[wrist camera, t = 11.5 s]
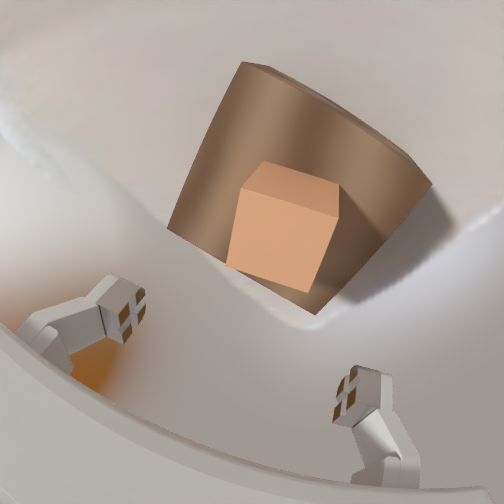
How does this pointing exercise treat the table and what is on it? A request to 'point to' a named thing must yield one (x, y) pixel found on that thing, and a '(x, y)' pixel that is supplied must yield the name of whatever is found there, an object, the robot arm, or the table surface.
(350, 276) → the walnut box
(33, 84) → the table surface
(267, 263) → the cube
